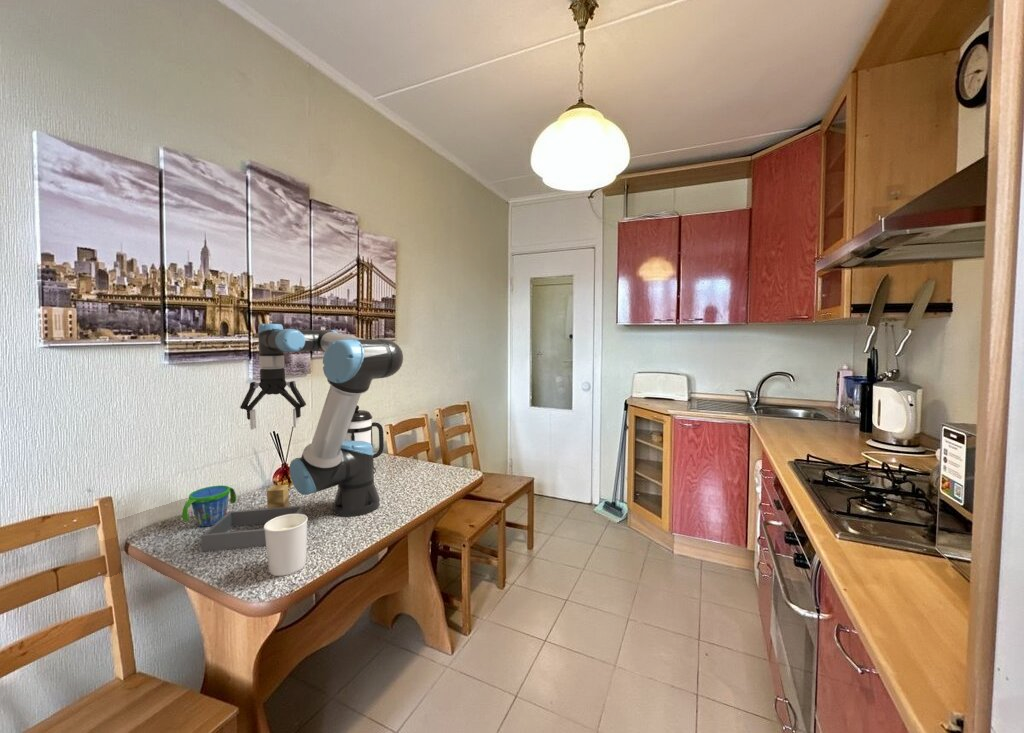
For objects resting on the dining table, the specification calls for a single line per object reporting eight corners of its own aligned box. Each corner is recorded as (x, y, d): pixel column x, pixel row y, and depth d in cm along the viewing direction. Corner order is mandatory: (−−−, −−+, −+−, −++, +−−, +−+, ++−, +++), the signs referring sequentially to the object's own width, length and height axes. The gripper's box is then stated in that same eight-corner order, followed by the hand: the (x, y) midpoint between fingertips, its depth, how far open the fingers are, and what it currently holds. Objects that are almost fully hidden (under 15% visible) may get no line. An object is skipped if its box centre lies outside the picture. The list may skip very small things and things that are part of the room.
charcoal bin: (305, 518, 131) (304, 505, 130) (288, 543, 115) (287, 528, 115) (229, 525, 126) (229, 511, 126) (201, 551, 111) (200, 536, 110)
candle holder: (288, 554, 109) (286, 511, 108) (317, 559, 106) (316, 516, 106) (256, 574, 100) (254, 527, 99) (287, 581, 97) (285, 533, 96)
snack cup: (193, 536, 120) (191, 503, 119) (173, 529, 124) (171, 497, 123) (246, 515, 134) (245, 485, 133) (227, 509, 138) (225, 480, 137)
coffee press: (372, 478, 168) (370, 408, 166) (334, 479, 168) (331, 408, 166) (384, 465, 186) (383, 401, 183) (350, 465, 185) (347, 401, 183)
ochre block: (289, 506, 140) (288, 484, 140) (284, 512, 135) (283, 489, 135) (273, 508, 139) (272, 485, 139) (267, 514, 134) (266, 491, 134)
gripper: (313, 366, 147) (315, 423, 148) (237, 367, 141) (239, 426, 143) (308, 368, 139) (310, 428, 141) (227, 369, 134) (230, 431, 135)
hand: (274, 427), depth 142 cm, fingers open, 13 cm apart
